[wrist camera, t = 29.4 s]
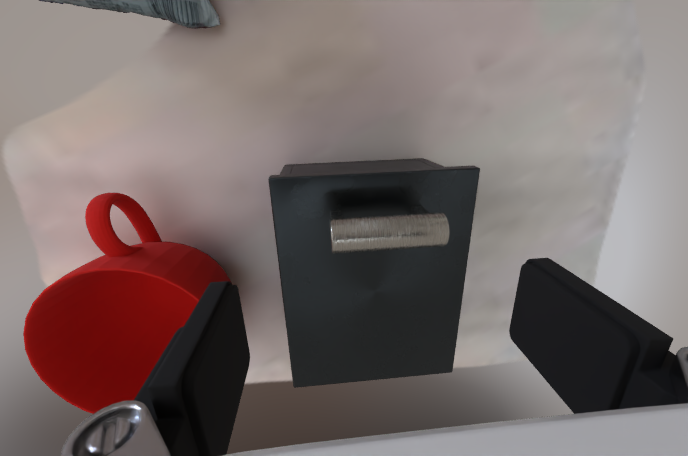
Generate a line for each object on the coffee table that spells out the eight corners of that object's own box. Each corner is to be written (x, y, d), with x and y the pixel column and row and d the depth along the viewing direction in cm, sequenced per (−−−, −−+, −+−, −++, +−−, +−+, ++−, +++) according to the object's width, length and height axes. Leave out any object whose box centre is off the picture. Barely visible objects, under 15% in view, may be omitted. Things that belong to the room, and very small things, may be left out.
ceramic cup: (231, 167, 28) (189, 195, 18) (263, 327, 33) (243, 410, 24) (77, 181, 27) (-49, 217, 18) (137, 342, 33) (66, 434, 23)
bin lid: (269, 174, 19) (256, 198, 14) (474, 165, 20) (521, 184, 15) (294, 379, 25) (290, 439, 21) (448, 364, 26) (476, 419, 22)
